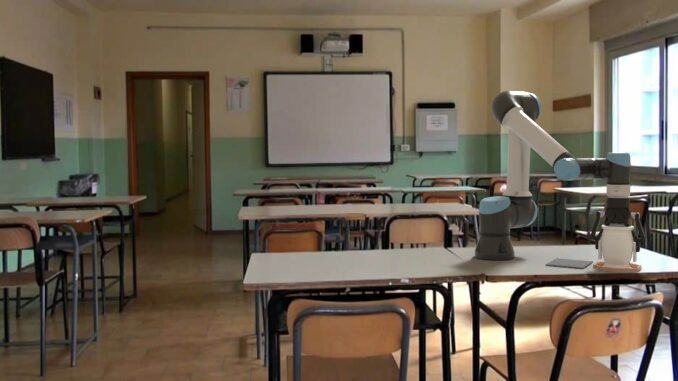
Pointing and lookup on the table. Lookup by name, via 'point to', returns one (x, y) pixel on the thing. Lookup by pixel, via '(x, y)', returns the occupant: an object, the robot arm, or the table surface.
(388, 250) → the table surface
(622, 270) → the brown wooden ring
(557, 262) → the mat
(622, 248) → the jar
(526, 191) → the robot arm
